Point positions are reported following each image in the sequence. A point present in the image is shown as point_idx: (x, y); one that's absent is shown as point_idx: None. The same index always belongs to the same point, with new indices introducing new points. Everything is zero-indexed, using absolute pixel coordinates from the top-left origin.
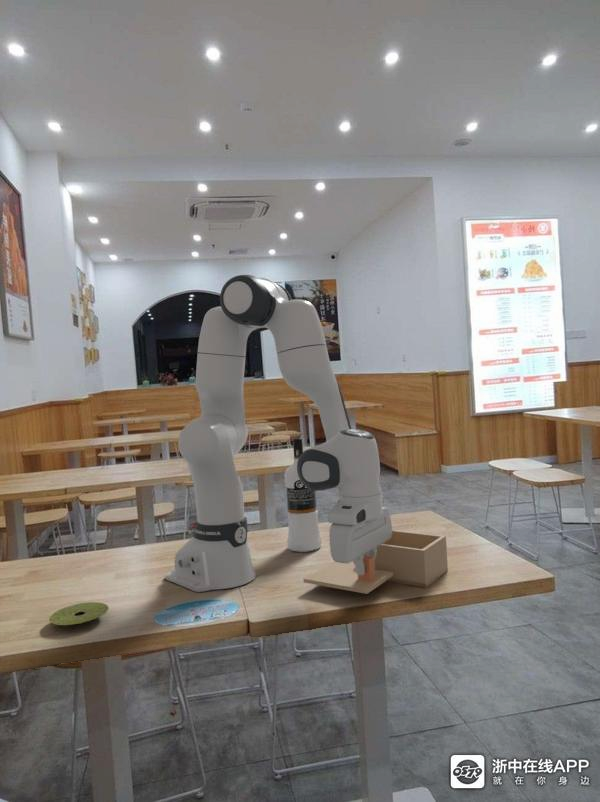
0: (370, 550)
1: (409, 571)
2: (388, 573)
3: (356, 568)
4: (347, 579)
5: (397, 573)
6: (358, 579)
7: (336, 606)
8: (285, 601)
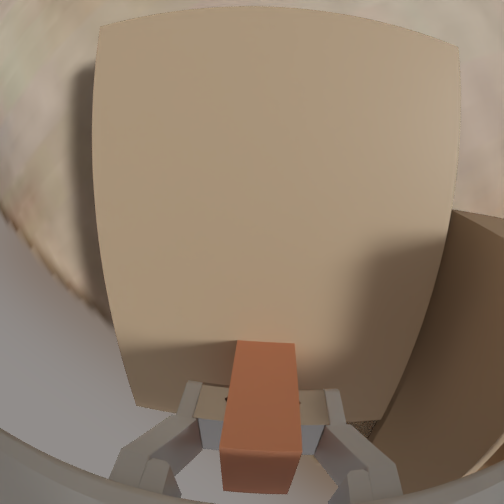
0: (334, 501)
1: (395, 444)
2: (358, 416)
3: (180, 405)
4: (198, 292)
5: (410, 401)
6: (229, 345)
7: (83, 272)
8: (38, 61)
